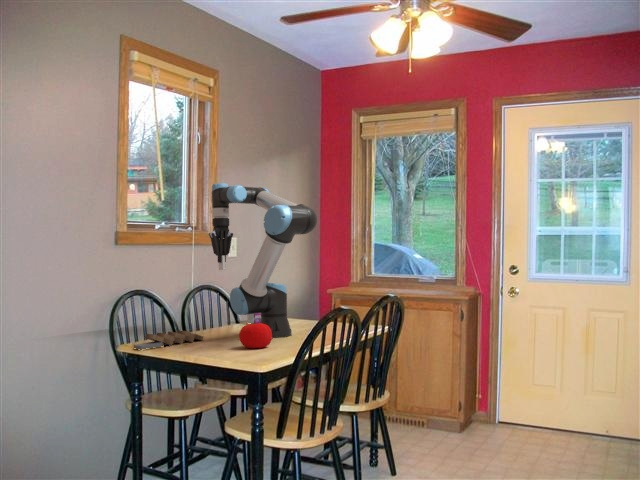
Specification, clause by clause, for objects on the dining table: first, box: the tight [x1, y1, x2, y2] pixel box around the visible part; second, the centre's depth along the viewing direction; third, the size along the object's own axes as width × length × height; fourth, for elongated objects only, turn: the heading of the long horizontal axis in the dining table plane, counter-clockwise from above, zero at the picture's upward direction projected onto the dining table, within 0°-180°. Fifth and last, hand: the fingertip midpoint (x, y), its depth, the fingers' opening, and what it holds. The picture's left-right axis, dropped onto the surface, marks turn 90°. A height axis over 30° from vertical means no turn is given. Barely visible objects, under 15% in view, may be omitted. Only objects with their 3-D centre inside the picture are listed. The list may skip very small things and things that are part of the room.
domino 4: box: [167, 331, 195, 343], centre depth 261 cm, size 5×2×10 cm
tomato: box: [238, 321, 273, 349], centre depth 243 cm, size 11×13×10 cm
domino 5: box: [177, 329, 204, 342], centre depth 266 cm, size 5×2×10 cm
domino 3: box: [156, 332, 184, 345], centre depth 257 cm, size 5×2×10 cm
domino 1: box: [133, 341, 164, 351], centre depth 249 cm, size 5×2×10 cm
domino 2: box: [144, 333, 174, 346], centre depth 253 cm, size 5×2×10 cm
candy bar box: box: [246, 313, 261, 324], centre depth 326 cm, size 11×5×16 cm, turn 148°
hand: (222, 269), depth 284 cm, fingers closed
